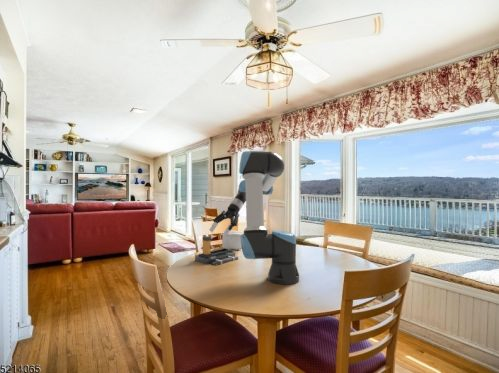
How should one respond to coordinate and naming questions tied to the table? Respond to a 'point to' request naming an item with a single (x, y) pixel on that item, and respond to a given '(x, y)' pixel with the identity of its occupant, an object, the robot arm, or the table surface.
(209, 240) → the breaker toggle
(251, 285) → the table surface
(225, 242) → the cable organizer
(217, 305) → the table surface
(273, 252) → the robot arm
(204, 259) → the breaker panel
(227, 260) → the cord bundle
